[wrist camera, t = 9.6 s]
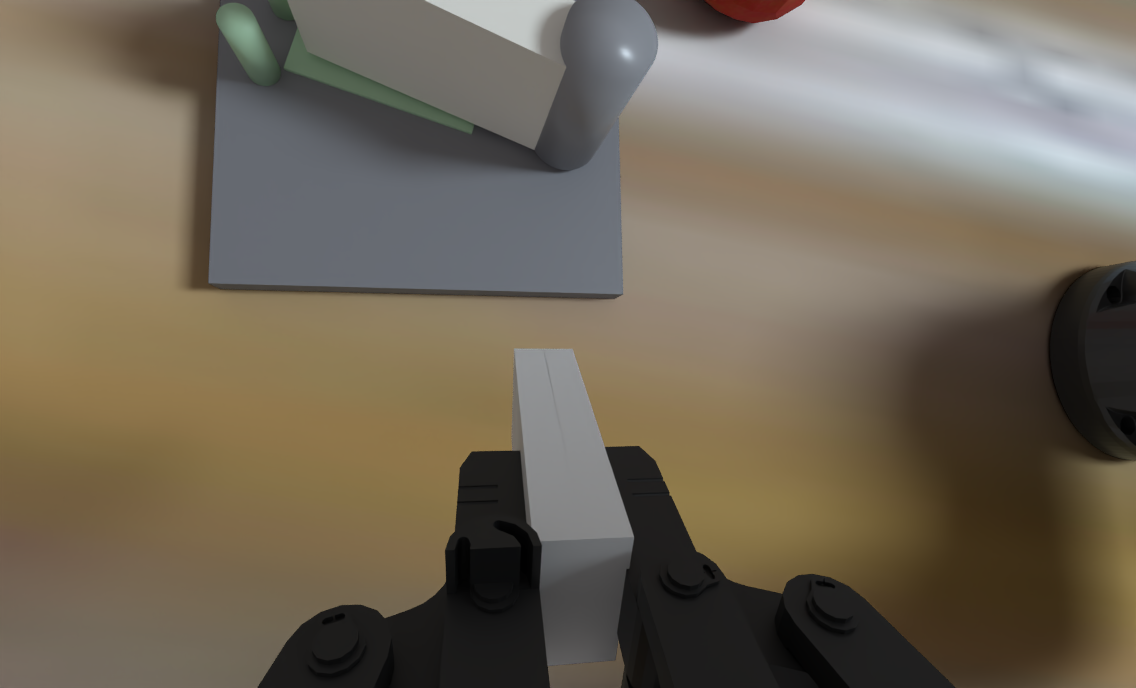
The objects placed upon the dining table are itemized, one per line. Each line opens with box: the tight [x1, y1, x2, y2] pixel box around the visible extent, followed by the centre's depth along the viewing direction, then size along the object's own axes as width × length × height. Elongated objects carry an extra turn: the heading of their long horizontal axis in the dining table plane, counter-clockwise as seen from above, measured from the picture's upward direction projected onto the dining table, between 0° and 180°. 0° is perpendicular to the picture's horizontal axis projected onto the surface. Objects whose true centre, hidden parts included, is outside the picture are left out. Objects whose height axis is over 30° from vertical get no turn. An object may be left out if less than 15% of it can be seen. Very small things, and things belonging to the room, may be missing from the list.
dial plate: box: [208, 0, 623, 299], centre depth 29 cm, size 22×21×6 cm
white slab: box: [287, 0, 658, 170], centre depth 25 cm, size 16×4×9 cm, turn 72°
